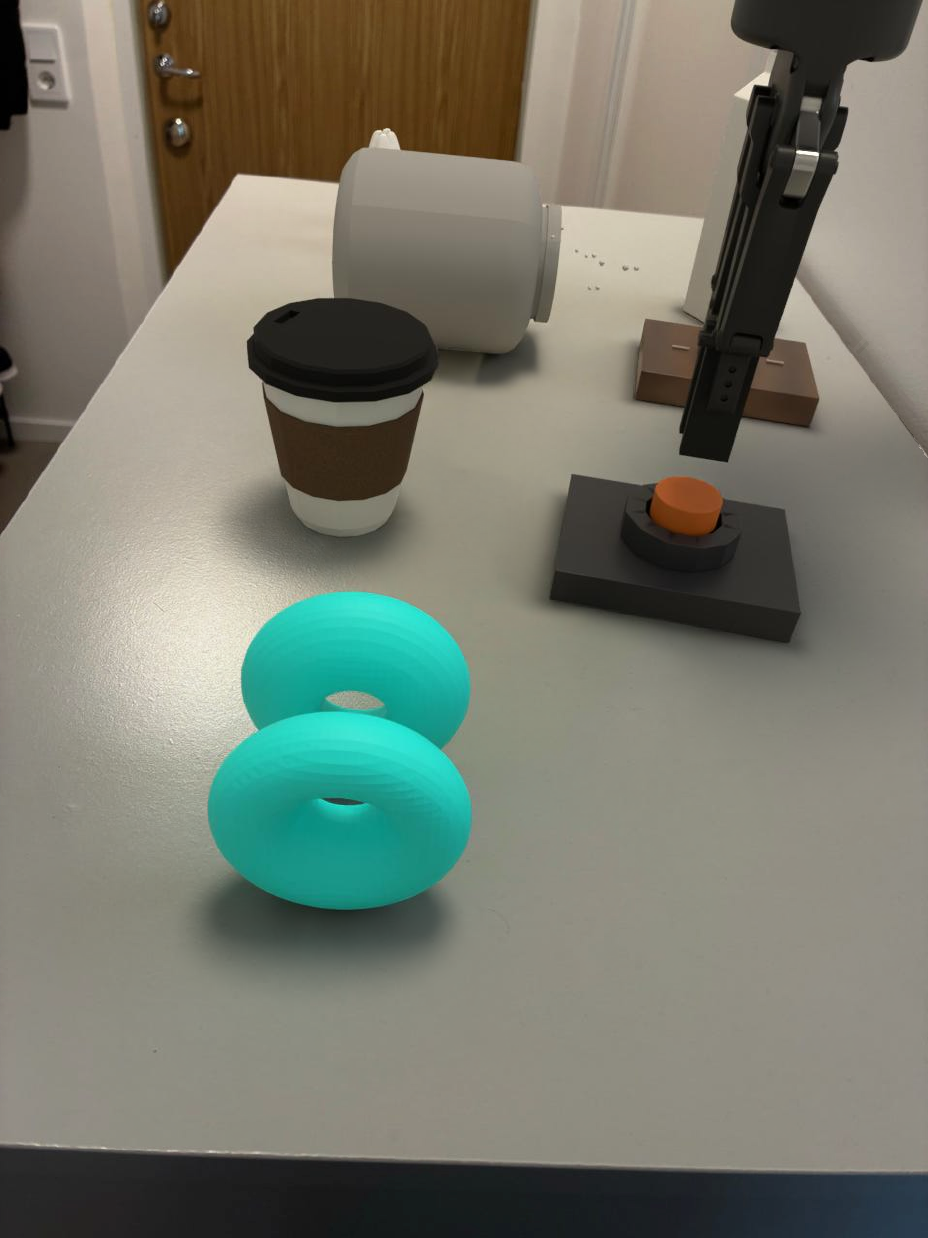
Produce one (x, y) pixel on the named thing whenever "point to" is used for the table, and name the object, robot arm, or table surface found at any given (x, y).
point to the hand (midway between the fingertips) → (703, 443)
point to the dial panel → (775, 388)
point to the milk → (721, 199)
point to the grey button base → (676, 562)
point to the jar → (448, 244)
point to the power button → (686, 505)
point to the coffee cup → (342, 405)
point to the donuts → (346, 756)
